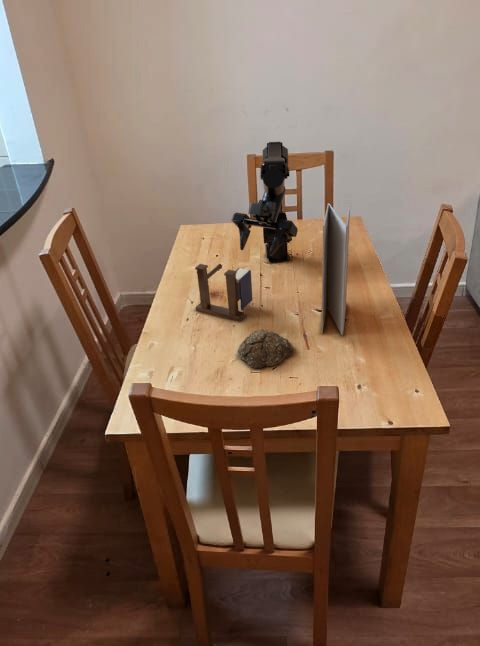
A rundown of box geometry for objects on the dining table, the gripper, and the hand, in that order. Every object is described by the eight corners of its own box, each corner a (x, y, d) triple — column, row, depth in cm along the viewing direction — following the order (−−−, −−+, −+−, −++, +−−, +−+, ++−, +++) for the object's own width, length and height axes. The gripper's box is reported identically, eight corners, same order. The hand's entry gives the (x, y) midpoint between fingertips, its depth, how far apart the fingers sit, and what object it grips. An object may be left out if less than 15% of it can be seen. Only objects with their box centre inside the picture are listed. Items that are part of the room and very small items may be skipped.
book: (240, 297, 158) (238, 267, 153) (252, 300, 157) (250, 270, 152) (230, 307, 154) (227, 277, 149) (242, 310, 152) (240, 280, 147)
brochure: (342, 335, 142) (347, 226, 127) (321, 333, 143) (323, 225, 128) (345, 306, 154) (350, 203, 139) (325, 305, 155) (327, 203, 140)
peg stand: (216, 292, 165) (212, 250, 158) (258, 301, 159) (255, 258, 152) (196, 310, 157) (190, 267, 150) (239, 321, 151) (235, 276, 144)
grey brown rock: (259, 333, 145) (258, 317, 143) (298, 349, 138) (298, 332, 136) (227, 357, 137) (225, 340, 134) (267, 375, 130) (266, 358, 127)
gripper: (232, 185, 156) (215, 236, 154) (292, 193, 148) (276, 247, 146) (247, 202, 166) (231, 251, 163) (304, 210, 158) (289, 261, 155)
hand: (255, 252), depth 157 cm, fingers open, 9 cm apart
